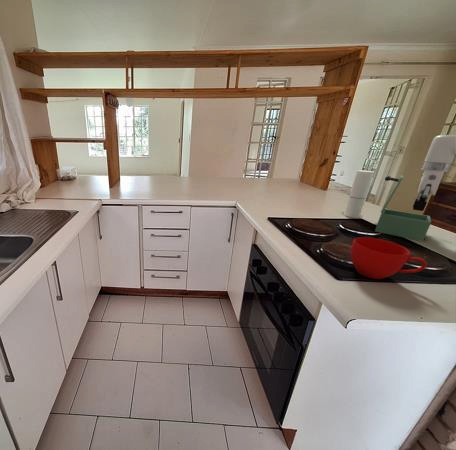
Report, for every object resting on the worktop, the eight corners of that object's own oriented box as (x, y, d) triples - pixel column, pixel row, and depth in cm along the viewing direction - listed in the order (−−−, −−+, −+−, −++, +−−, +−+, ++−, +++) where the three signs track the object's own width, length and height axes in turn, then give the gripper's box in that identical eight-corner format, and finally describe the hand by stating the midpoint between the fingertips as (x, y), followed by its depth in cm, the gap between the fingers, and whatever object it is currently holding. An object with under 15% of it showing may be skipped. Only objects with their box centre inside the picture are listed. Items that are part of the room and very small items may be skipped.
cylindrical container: (358, 215, 135) (373, 170, 126) (360, 218, 129) (375, 172, 120) (342, 213, 138) (356, 169, 129) (344, 216, 132) (358, 171, 124)
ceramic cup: (417, 297, 65) (433, 265, 61) (342, 273, 75) (351, 245, 72) (414, 278, 73) (427, 249, 70) (347, 259, 84) (355, 234, 81)
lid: (403, 175, 109) (388, 172, 112) (403, 178, 100) (386, 174, 104) (384, 207, 116) (371, 204, 119) (382, 213, 108) (367, 208, 111)
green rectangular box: (421, 233, 109) (429, 215, 106) (422, 241, 101) (431, 222, 97) (377, 225, 119) (383, 208, 116) (374, 231, 111) (381, 213, 108)
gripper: (451, 169, 89) (431, 215, 96) (447, 166, 100) (429, 207, 107) (422, 167, 94) (405, 210, 101) (421, 164, 105) (406, 204, 112)
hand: (417, 208), depth 104 cm, fingers open, 4 cm apart
